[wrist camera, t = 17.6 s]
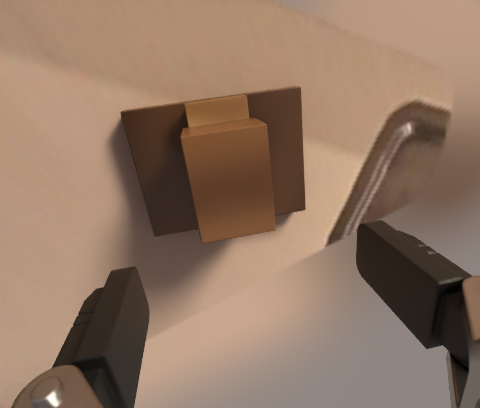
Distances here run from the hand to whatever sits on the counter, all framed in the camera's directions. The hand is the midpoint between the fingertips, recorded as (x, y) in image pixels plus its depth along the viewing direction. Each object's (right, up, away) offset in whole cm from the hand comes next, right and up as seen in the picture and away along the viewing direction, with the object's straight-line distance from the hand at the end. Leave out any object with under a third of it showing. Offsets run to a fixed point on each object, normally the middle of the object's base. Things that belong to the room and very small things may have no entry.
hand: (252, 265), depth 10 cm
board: (-2, +6, +14) cm, 15 cm away
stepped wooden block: (-2, +5, +12) cm, 13 cm away
